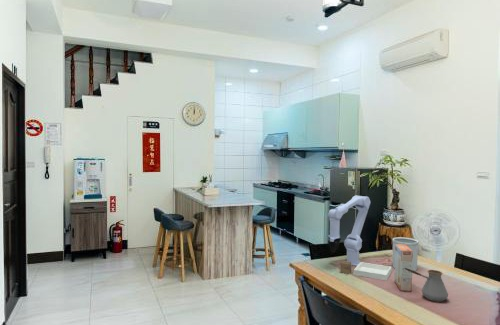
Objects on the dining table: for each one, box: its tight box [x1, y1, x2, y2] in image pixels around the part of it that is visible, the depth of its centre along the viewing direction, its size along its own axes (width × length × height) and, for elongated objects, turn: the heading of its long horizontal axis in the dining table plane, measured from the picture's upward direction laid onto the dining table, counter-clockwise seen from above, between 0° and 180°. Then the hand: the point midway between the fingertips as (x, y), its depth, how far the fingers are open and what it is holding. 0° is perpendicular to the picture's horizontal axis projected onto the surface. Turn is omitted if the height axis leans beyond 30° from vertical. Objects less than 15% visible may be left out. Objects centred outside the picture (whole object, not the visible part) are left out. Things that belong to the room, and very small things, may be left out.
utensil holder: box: [391, 236, 420, 272], centre depth 217 cm, size 15×15×18 cm
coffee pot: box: [403, 268, 449, 302], centre depth 169 cm, size 21×12×15 cm, turn 93°
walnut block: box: [339, 260, 352, 275], centre depth 207 cm, size 5×5×6 cm
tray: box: [353, 261, 393, 281], centre depth 206 cm, size 18×18×3 cm
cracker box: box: [394, 244, 413, 292], centre depth 185 cm, size 14×6×21 cm, turn 168°
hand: (334, 251), depth 216 cm, fingers open, 7 cm apart
